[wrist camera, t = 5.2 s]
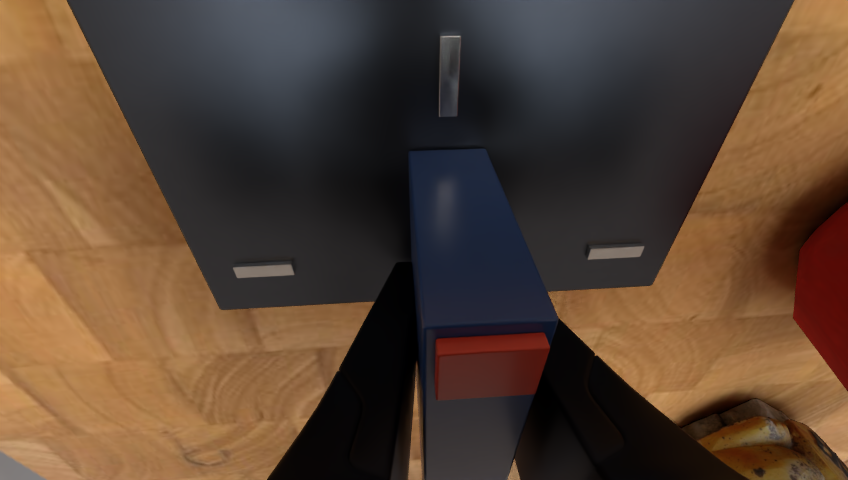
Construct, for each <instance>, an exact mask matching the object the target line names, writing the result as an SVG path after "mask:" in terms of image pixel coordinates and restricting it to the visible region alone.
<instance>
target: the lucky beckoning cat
mask: <svg viewBox="0 0 848 480" xmlns="http://www.w3.org/2000/svg"><path fill="white" fill-rule="evenodd" d="M681 429H682V430H684V431H685V432H686V433H687V434H689V435H690V436H691V437H692V438H694V439H695V440H696V441H697V442H698V443H700V444H701V445H702V446H703V447H705V448H706V449H707V450H708V451H710V452H711V453H712V454H713V455H714V456H716V457H717V458H718V459H720V460H721V461H722V462H724V463H725V464H726V465H728V466H729V467H731V468H732V469H734V470H735V471H737V472H738V473H740V474H742V475H743V476H745V477H747V478H748V479H750V480H848V468H847V466H846V465H845V464H844V463H843V462H842V461H841V460H840V459H839V458H838V456H837V455H836V453H834V452H833V451H832V450H831V449H830V448H829V447H828V446H827V444H826V443H825V442H824V441H823V440H822V439H821V438H820V437H819V436H818V435H817V434H816V433H815V432H814V431H813V430H812V429H811V428H809V427H808V426H807V425H805V424H803V423H800V422H797V421H794V420H792V419H789V418H788V417H787V416H786V415H785V414H784V413H783V412H782V411H777V410H776V409H774V408H772V407H771V406H769V405H767V404H766V403H764V402H763V401H761V400H759V399H752V400H750V401H747V402H746V403H743V404H742V405H739V406H737V407H734V408H732V409H730V410H728V411H726V412H724V413H721V414H713V415H710V416H708V417H706V418H705V419H700V420H698V421H696V422H693V423H692V424H691V425H687V426H685V427H683V428H681Z"/></svg>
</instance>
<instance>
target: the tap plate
mask: <svg viewBox="0 0 848 480" xmlns="http://www.w3.org/2000/svg"><path fill="white" fill-rule="evenodd" d="M67 2H68V4H69V6H70V8H71V10H72V12H73V14H74V16H75V18H76V20H77V22H78V24H79V26H80V28H81V30H82V32H83V34H84V36H85V38H86V40H87V42H88V44H89V46H90V48H91V50H92V52H93V54H94V56H95V58H96V60H97V62H98V64H99V66H100V68H101V70H102V72H103V74H104V77H105V79H106V81H107V83H108V85H109V87H110V89H111V91H112V93H113V95H114V97H115V99H116V101H117V103H118V105H119V107H120V109H121V111H122V113H123V115H124V117H125V119H126V121H127V123H128V125H129V127H130V129H131V131H132V133H133V135H134V137H135V139H136V141H137V143H138V145H139V147H140V149H141V151H142V153H143V155H144V157H145V159H146V161H147V163H148V165H149V167H150V169H151V171H152V173H153V175H154V177H155V179H156V181H157V183H158V185H159V187H160V189H161V191H162V193H163V195H164V197H165V199H166V201H167V203H168V205H169V207H170V209H171V211H172V213H173V215H174V217H175V219H176V221H177V224H178V226H179V228H180V230H181V232H182V234H183V236H184V238H185V240H186V242H187V244H188V246H189V248H190V250H191V252H192V254H193V256H194V258H195V260H196V262H197V264H198V266H199V268H200V270H201V272H202V274H203V276H204V278H205V280H206V282H207V284H208V286H209V288H210V290H211V292H212V294H213V296H214V298H215V300H216V302H217V304H218V306H219V308H220V309H221V310H232V309H249V308H267V307H285V306H303V305H320V304H338V303H356V302H373V301H376V299H377V297H378V295H379V293H380V291H381V289H382V288H383V286H384V284H385V282H386V280H387V278H388V276H389V275H390V273H391V271H392V269H393V267H394V265H395V264H396V263H397V262H412V261H411V229H410V197H409V165H408V153H409V151H428V150H457V149H486V151H487V153H488V155H489V158H490V160H491V162H492V165H493V167H494V169H495V172H496V174H497V176H498V179H499V181H500V183H501V186H502V188H503V190H504V193H505V195H506V197H507V200H508V202H509V204H510V207H511V209H512V211H513V214H514V216H515V218H516V220H517V223H518V225H519V227H520V230H521V232H522V234H523V237H524V239H525V241H526V244H527V246H528V248H529V251H530V253H531V255H532V258H533V260H534V262H535V265H536V267H537V269H538V272H539V274H540V276H541V279H542V281H543V283H544V286H545V288H546V290H547V292H550V291H568V290H586V289H604V288H621V287H639V286H651V285H652V284H653V282H654V280H655V278H656V276H657V274H658V272H659V270H660V268H661V266H662V264H663V262H664V260H665V258H666V256H667V254H668V252H669V250H670V248H671V246H672V244H673V242H674V240H675V238H676V236H677V234H678V232H679V230H680V228H681V226H682V224H683V222H684V220H685V218H686V216H687V214H688V212H689V210H690V208H691V206H692V204H693V202H694V200H695V198H696V196H697V194H698V192H699V190H700V188H701V186H702V184H703V182H704V180H705V178H706V176H707V174H708V172H709V170H710V168H711V166H712V164H713V162H714V160H715V158H716V156H717V154H718V152H719V150H720V148H721V146H722V144H723V142H724V140H725V138H726V136H727V134H728V132H729V130H730V128H731V126H732V124H733V122H734V120H735V118H736V116H737V114H738V112H739V110H740V108H741V106H742V104H743V102H744V100H745V98H746V96H747V94H748V92H749V90H750V88H751V86H752V84H753V82H754V80H755V78H756V76H757V74H758V72H759V70H760V68H761V66H762V64H763V62H764V60H765V58H766V56H767V54H768V52H769V50H770V48H771V46H772V44H773V42H774V40H775V38H776V36H777V34H778V32H779V30H780V28H781V26H782V24H783V22H784V20H785V18H786V16H787V14H788V12H789V10H790V8H791V6H792V4H793V2H794V0H67Z"/></svg>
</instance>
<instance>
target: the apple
mask: <svg viewBox="0 0 848 480" xmlns="http://www.w3.org/2000/svg"><path fill="white" fill-rule="evenodd" d="M793 319H794V320H795V321H796V323H797V324H798V325H799V327H800V328H801V329H802V331H803V332H804V333H805V335H806V336H807V337H808V339H809V340H810V341H811V343H812V344H813V345H814V347H815V348H816V349H817V351H818V352H819V354H820V355H821V356H822V358H823V359H824V360H825V362H826V363H827V364H828V366H829V367H830V368H831V370H832V371H833V372H834V374H835V375H836V376H837V378H838V379H839V380H840V382H841V383H842V384H843V386H844V387H845V388H846V390H847V391H848V202H847V203H846V204H844V205H843V206H842V207H841V208H839V209H838V210H837V211H836V212H835V213H834V214H833V215H832V216H830V217H829V218H828V219H827V220H826V221H825V222H824V223H822V224H821V225H820V226H819V227H818V228H817V229H816V230H815V231H814V232H813V234H812V235H811V236H810V237H809V239H808V240H807V241H806V242H805V244H804V245H803V246H802V247H801V249H800V252H799V261H798V271H797V280H796V290H795V301H794V312H793Z"/></svg>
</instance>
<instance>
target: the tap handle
mask: <svg viewBox="0 0 848 480" xmlns="http://www.w3.org/2000/svg"><path fill="white" fill-rule="evenodd" d="M408 165H409V197H410V229H411V261H412V268H413V281H414V294H415V313H416V353H417V363H416V381H417V398H418V415H419V432H420V449H421V466H422V480H507V479H508V476H509V473H510V469H511V466H512V463H513V460H514V457H515V454H516V451H517V448H518V445H519V442H520V438H521V435H522V432H523V429H524V426H525V423H526V420H527V417H528V414H529V410H530V407H531V404H532V401H533V398H534V395H535V393H536V391H537V388H538V384H539V381H540V378H541V375H542V372H543V369H544V366H545V363H546V360H547V357H548V354H549V350H550V345H551V342H552V339H553V336H554V333H555V330H556V327H557V324H558V316H557V313H556V311H555V309H554V306H553V304H552V302H551V300H550V297H549V295H548V293H547V290H546V288H545V286H544V283H543V281H542V279H541V276H540V274H539V272H538V269H537V267H536V265H535V262H534V260H533V258H532V255H531V253H530V251H529V248H528V246H527V244H526V241H525V239H524V237H523V234H522V232H521V230H520V227H519V225H518V223H517V220H516V218H515V216H514V214H513V211H512V209H511V207H510V204H509V202H508V200H507V197H506V195H505V193H504V190H503V188H502V186H501V183H500V181H499V179H498V176H497V174H496V172H495V169H494V167H493V165H492V162H491V160H490V158H489V155H488V153H487V151H486V149H457V150H428V151H409V153H408Z"/></svg>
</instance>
